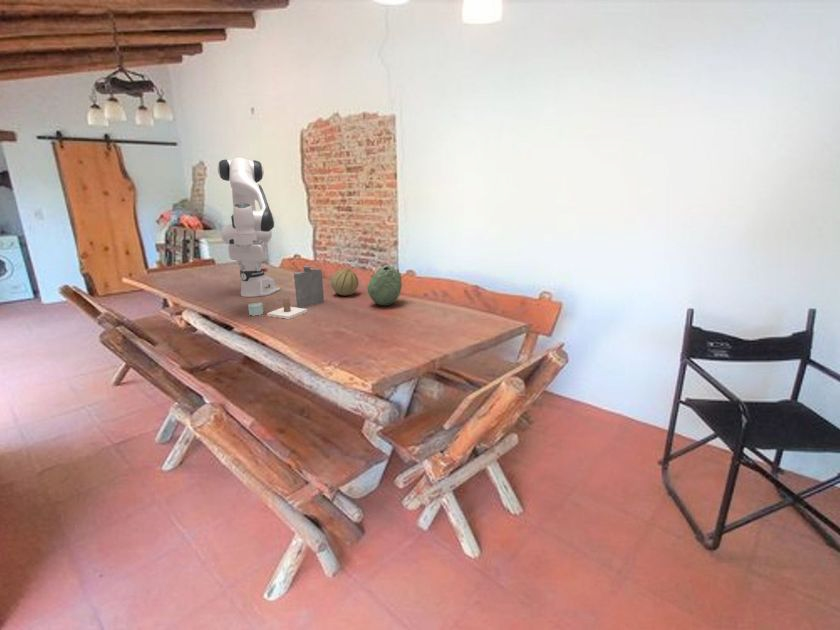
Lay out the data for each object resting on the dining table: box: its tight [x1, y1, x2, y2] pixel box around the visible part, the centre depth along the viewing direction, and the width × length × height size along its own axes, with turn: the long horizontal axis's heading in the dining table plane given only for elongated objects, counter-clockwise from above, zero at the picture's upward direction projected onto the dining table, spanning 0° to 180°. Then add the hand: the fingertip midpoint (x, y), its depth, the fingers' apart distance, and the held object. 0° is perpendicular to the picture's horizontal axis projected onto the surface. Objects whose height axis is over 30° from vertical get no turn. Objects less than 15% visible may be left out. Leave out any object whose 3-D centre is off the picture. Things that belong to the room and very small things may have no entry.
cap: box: [247, 302, 264, 317], centre depth 209 cm, size 6×6×5 cm
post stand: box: [266, 295, 308, 320], centre depth 208 cm, size 13×13×8 cm
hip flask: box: [293, 265, 325, 309], centre depth 222 cm, size 16×4×20 cm, turn 140°
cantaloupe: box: [330, 268, 359, 297], centre depth 240 cm, size 15×15×15 cm
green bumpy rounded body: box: [366, 264, 403, 307], centre depth 220 cm, size 16×19×20 cm
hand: (250, 270), depth 203 cm, fingers open, 8 cm apart
